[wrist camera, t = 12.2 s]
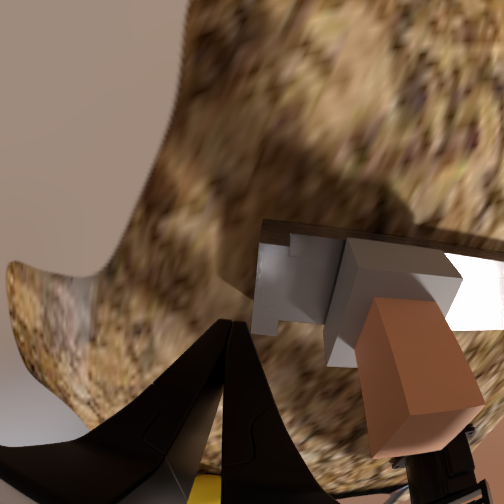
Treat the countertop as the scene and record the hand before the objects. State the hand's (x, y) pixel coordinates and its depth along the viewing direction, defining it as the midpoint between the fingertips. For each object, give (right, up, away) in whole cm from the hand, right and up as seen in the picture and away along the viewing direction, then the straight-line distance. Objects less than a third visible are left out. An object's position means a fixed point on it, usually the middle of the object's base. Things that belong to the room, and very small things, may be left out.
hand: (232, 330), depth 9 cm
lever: (+6, +1, +2) cm, 6 cm away
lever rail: (+9, +1, +3) cm, 9 cm away
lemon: (-3, -21, +17) cm, 27 cm away
